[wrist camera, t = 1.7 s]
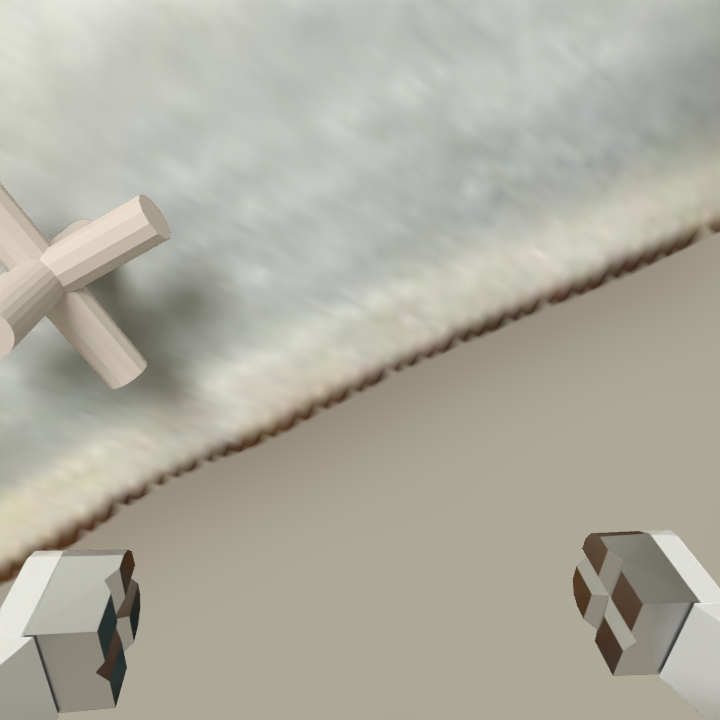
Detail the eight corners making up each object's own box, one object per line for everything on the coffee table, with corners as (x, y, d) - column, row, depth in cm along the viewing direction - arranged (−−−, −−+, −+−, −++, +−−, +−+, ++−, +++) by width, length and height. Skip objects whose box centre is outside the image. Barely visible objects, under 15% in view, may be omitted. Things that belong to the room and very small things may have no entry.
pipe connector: (240, 279, 28) (214, 384, 19) (73, 369, 29) (-23, 505, 20) (105, 75, 23) (-11, 90, 14) (-86, 193, 25) (-298, 272, 16)
